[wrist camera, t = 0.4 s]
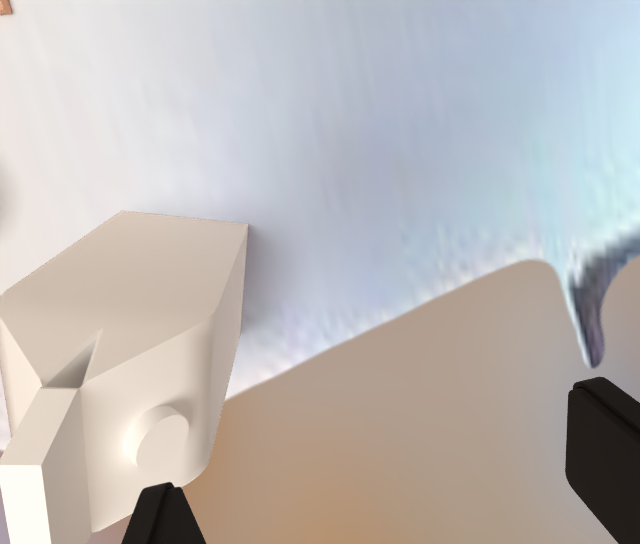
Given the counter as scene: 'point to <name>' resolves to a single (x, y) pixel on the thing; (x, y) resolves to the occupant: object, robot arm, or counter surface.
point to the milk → (116, 370)
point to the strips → (5, 7)
